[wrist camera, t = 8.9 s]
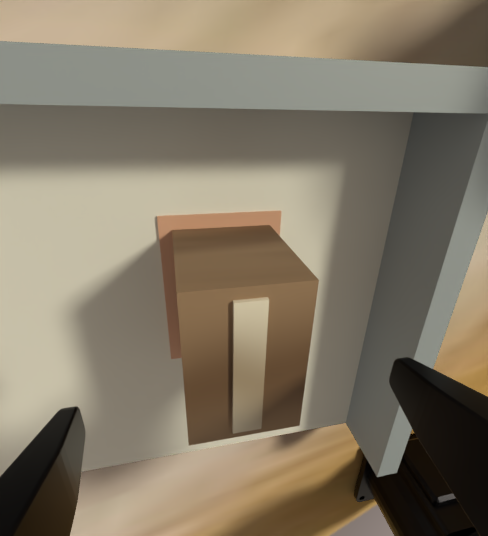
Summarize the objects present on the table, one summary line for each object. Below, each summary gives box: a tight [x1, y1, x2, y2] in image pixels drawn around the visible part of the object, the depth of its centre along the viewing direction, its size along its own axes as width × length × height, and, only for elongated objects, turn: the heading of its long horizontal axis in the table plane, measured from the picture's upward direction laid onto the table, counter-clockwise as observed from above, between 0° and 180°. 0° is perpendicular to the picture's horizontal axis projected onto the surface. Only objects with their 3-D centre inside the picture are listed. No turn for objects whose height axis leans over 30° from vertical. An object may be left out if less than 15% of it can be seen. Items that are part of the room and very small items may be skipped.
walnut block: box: [172, 225, 319, 446], centre depth 13 cm, size 6×4×5 cm, turn 179°
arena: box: [0, 41, 488, 477], centre depth 14 cm, size 19×23×5 cm
